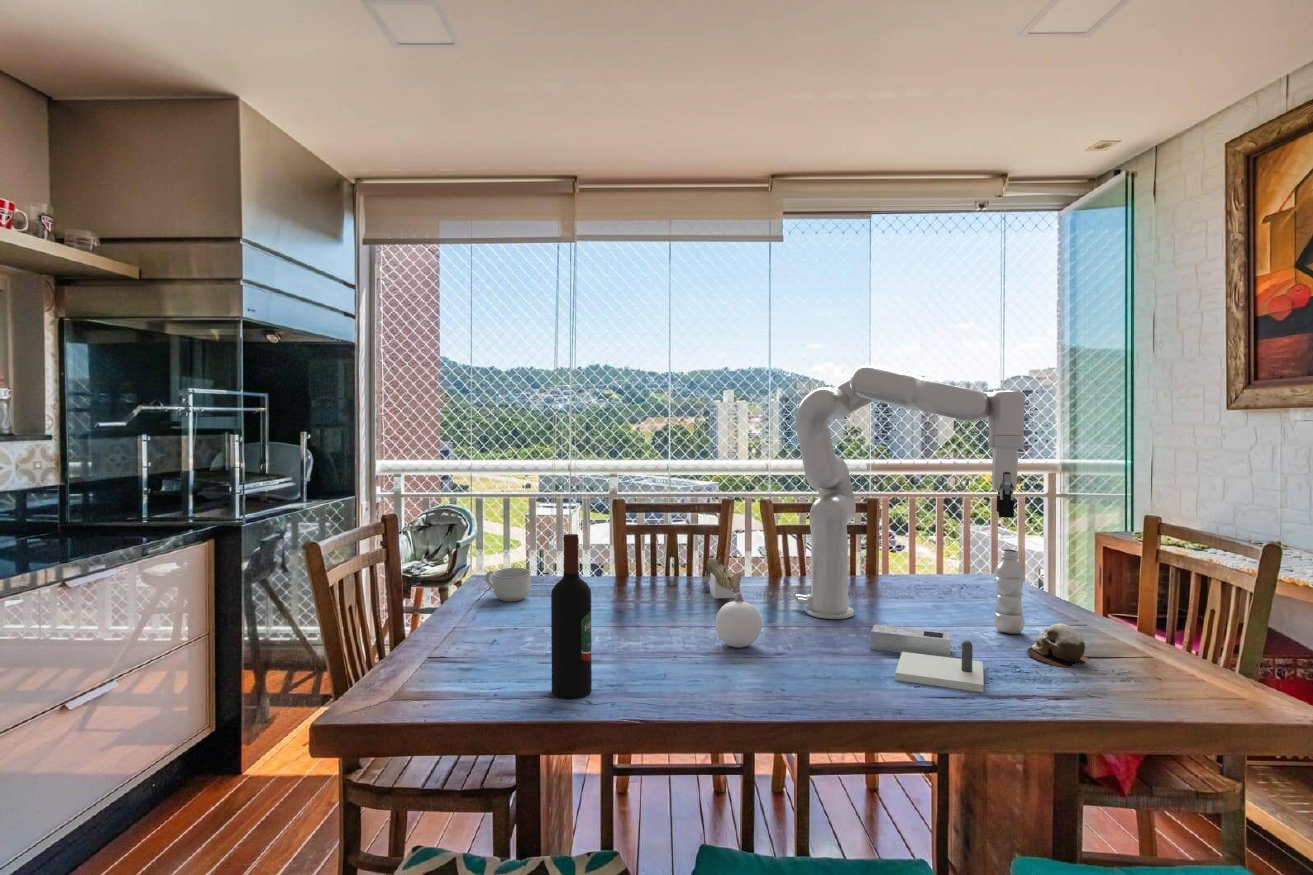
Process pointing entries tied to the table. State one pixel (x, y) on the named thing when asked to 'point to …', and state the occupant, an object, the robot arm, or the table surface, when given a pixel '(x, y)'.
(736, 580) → the wood carving
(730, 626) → the ornament
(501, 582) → the teacup
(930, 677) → the board
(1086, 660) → the skull
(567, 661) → the wine bottle
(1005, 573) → the plastic bottle
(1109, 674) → the table surface
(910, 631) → the link plate
